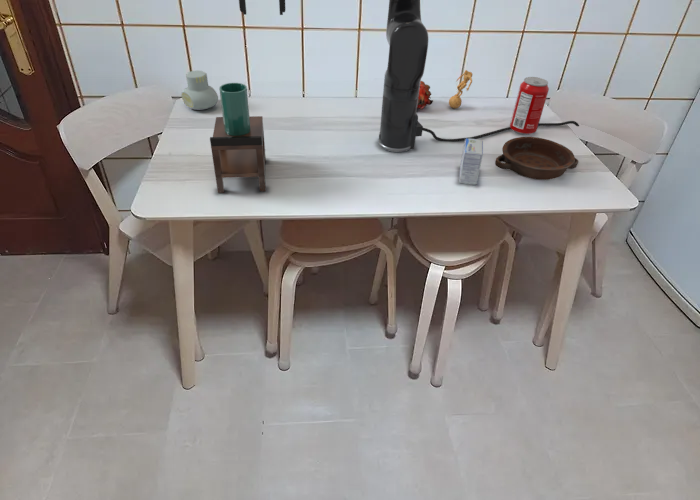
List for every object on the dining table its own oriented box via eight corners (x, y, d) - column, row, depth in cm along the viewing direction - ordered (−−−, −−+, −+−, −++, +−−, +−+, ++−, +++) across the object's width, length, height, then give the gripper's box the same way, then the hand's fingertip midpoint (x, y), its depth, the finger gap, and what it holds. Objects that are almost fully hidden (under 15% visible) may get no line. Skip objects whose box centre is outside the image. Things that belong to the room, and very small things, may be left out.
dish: (482, 153, 137) (486, 136, 134) (558, 151, 139) (564, 135, 136) (505, 187, 123) (510, 169, 120) (589, 184, 126) (596, 167, 123)
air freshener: (180, 103, 154) (174, 71, 148) (204, 97, 158) (199, 65, 152) (197, 115, 148) (192, 82, 142) (222, 108, 152) (218, 76, 146)
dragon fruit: (415, 103, 166) (419, 123, 157) (396, 88, 161) (400, 109, 153) (433, 84, 161) (439, 104, 153) (414, 69, 157) (419, 89, 149)
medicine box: (476, 185, 123) (483, 154, 118) (458, 183, 124) (464, 151, 118) (476, 170, 129) (483, 139, 124) (459, 167, 130) (465, 137, 125)
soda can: (508, 134, 147) (522, 83, 137) (508, 123, 153) (521, 74, 143) (536, 138, 145) (551, 87, 136) (535, 126, 151) (549, 77, 142)
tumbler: (250, 124, 118) (247, 82, 111) (250, 135, 113) (246, 92, 107) (225, 124, 117) (220, 82, 111) (224, 136, 113) (218, 92, 106)
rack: (265, 160, 129) (261, 109, 120) (265, 191, 118) (261, 137, 109) (222, 161, 128) (215, 109, 119) (217, 193, 116) (209, 138, 108)
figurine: (443, 103, 163) (449, 65, 155) (460, 102, 164) (467, 65, 156) (453, 113, 156) (460, 75, 149) (471, 112, 158) (478, 74, 150)
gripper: (223, -65, 105) (231, 18, 115) (291, -63, 107) (294, 18, 117) (225, -70, 111) (233, 9, 121) (290, -68, 112) (292, 10, 123)
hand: (263, 14), depth 119 cm, fingers open, 8 cm apart
